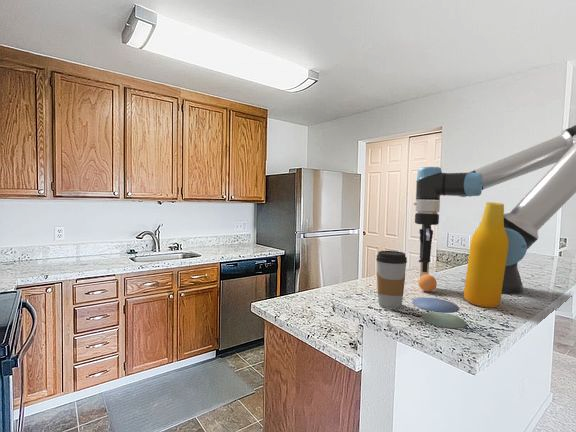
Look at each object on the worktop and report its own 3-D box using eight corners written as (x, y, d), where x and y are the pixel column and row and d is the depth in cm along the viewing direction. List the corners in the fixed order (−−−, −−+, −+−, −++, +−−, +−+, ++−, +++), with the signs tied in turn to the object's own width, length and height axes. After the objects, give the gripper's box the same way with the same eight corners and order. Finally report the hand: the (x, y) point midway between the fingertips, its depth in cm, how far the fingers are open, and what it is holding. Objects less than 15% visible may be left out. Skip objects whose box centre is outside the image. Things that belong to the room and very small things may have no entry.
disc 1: (442, 298, 98) (442, 297, 98) (468, 312, 86) (468, 311, 86) (405, 298, 97) (405, 297, 97) (425, 312, 85) (425, 311, 85)
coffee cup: (407, 311, 86) (409, 256, 85) (375, 308, 87) (377, 254, 86) (403, 301, 94) (404, 251, 93) (373, 299, 95) (375, 249, 95)
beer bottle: (507, 308, 89) (523, 206, 84) (475, 308, 89) (490, 205, 84) (485, 294, 98) (499, 201, 93) (456, 294, 98) (468, 200, 93)
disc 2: (450, 312, 85) (450, 311, 85) (475, 327, 75) (475, 327, 75) (414, 313, 84) (414, 312, 84) (435, 328, 74) (435, 327, 74)
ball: (430, 288, 108) (431, 272, 108) (439, 293, 102) (440, 276, 102) (415, 288, 107) (415, 272, 107) (423, 293, 102) (423, 276, 102)
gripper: (413, 211, 116) (410, 275, 118) (416, 213, 104) (413, 284, 105) (436, 212, 114) (432, 277, 116) (442, 214, 102) (438, 286, 103)
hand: (423, 280), depth 111 cm, fingers closed
